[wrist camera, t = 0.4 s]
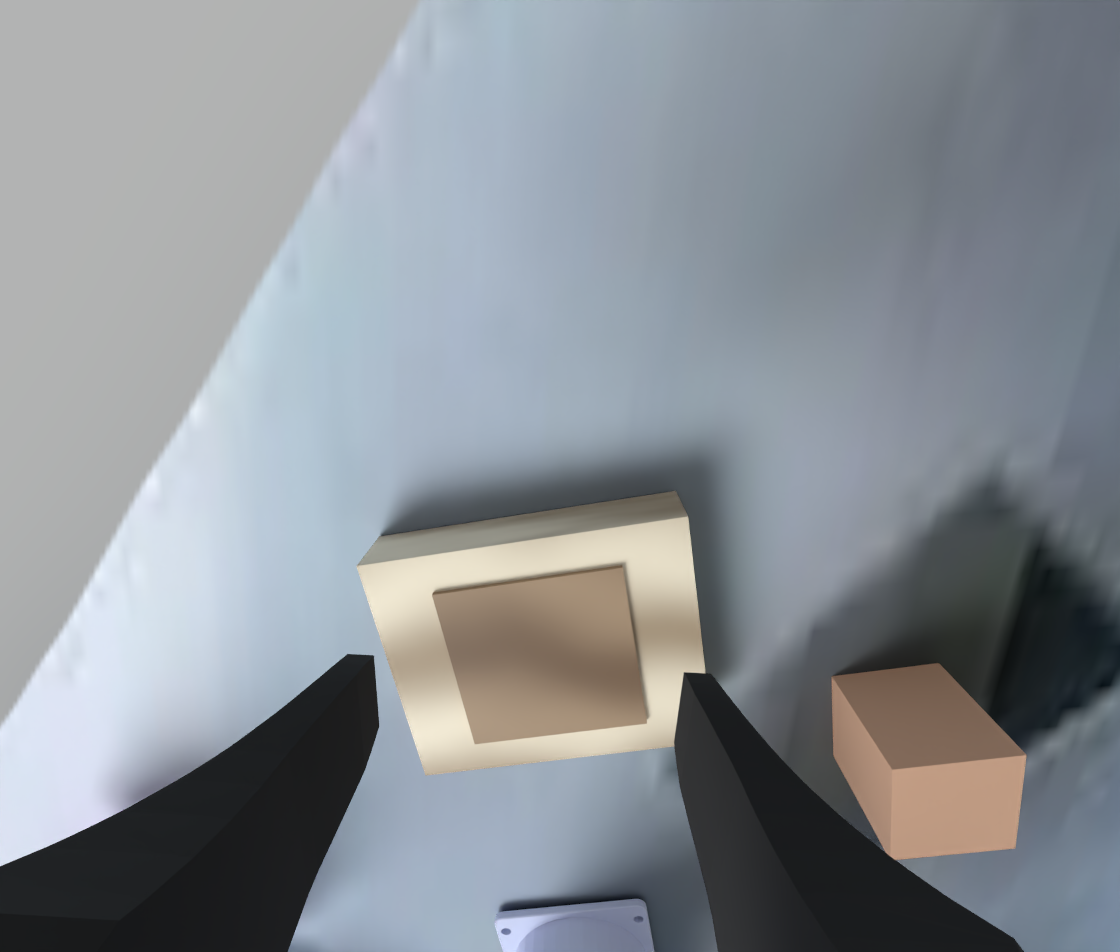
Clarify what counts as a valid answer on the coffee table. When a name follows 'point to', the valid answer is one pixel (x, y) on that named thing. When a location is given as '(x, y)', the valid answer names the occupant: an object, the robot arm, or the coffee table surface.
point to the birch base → (539, 631)
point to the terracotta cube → (926, 762)
